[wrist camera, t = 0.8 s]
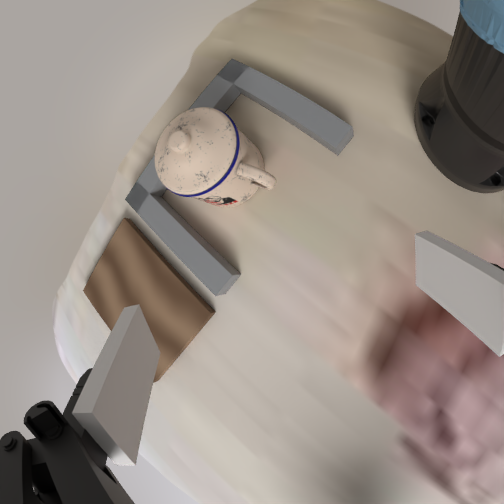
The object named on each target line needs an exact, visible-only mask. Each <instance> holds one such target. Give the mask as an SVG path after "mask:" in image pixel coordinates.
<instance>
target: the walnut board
mask: <svg viewBox="0 0 504 504" xmlns="http://www.w3.org/2000/svg"><path fill="white" fill-rule="evenodd" d="M83 291H84V293H85V294H86V296H87V297H88V299H89V300H90V302H91V303H92V305H93V306H94V308H95V309H96V310H97V312H98V313H99V315H100V316H101V318H102V319H103V320H104V322H105V323H106V324H107V326H108V327H109V329H110V330H111V331H112V330H113V328H114V326H115V324H116V322H117V320H118V318H119V316H120V315H121V313H122V311H123V309H124V308H125V307H129V306H133V305H138V304H139V305H140V308H141V310H142V313H143V315H144V317H145V320H146V322H147V324H148V326H149V329H150V331H151V333H152V335H153V338H154V340H155V342H156V344H157V346H158V348H159V351H160V357H159V361H158V365H157V369H156V373H155V377H154V381H153V383H154V382H156V381H158V380H159V379H160V378H161V377H162V376H163V374H164V373H165V372H166V371H167V370H168V368H169V367H170V366H171V365H172V364H173V362H174V361H175V360H176V359H177V358H178V357H179V355H180V354H181V353H182V352H183V351H184V349H185V348H186V347H187V346H188V345H189V343H190V342H191V341H192V340H193V339H194V337H195V336H196V335H197V334H198V333H199V331H200V330H201V329H202V328H203V327H204V325H205V324H206V323H207V322H208V321H209V319H210V318H211V317H212V316H213V315H214V313H215V311H214V310H213V309H212V308H211V307H210V306H209V305H208V304H207V303H206V302H205V301H204V299H203V298H202V297H201V296H200V295H199V294H198V293H197V292H196V291H195V290H194V289H193V288H192V287H191V286H190V285H189V284H188V283H187V282H186V281H185V280H184V278H183V277H182V276H181V275H180V274H179V273H178V272H177V271H176V270H175V269H174V268H173V267H172V266H171V265H170V263H169V262H168V261H167V260H166V259H165V258H164V257H163V256H162V255H161V254H160V252H159V251H158V250H157V249H156V248H155V247H154V246H153V245H152V244H151V242H150V241H149V240H148V239H147V238H146V237H145V236H144V235H143V233H142V232H141V231H140V230H139V229H138V228H137V227H136V225H135V224H134V223H133V222H132V221H131V220H130V219H128V218H124V219H123V220H122V222H121V224H120V225H119V227H118V229H117V230H116V232H115V234H114V235H113V237H112V239H111V240H110V242H109V244H108V246H107V247H106V249H105V251H104V253H103V254H102V256H101V258H100V260H99V262H98V263H97V265H96V267H95V269H94V271H93V273H92V275H91V276H90V278H89V280H88V282H87V284H86V286H85V288H84V290H83Z"/></svg>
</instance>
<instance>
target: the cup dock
mask: <svg viewBox="0 0 504 504" xmlns="http://www.w3.org/2000/svg"><path fill="white" fill-rule="evenodd" d="M241 93H242V94H243V95H245V96H247V97H249V98H250V99H252V100H254V101H255V102H257V103H259V104H260V105H262V106H264V107H265V108H267V109H269V110H270V111H272V112H274V113H275V114H277V115H278V116H280V117H282V118H283V119H285V120H286V121H288V122H289V123H291V124H292V125H294V126H295V127H297V128H298V129H300V130H302V131H303V132H304V133H306V134H307V135H309V136H310V137H312V138H313V139H315V140H316V141H318V142H319V143H321V144H322V145H323V146H325V147H326V148H328V149H329V150H330V151H332V152H333V153H335V154H336V155H337V156H338V155H339V153H340V152H341V151H342V150H343V149H344V147H345V146H346V145H347V144H348V142H349V141H350V140H351V139H352V137H353V136H354V135H353V127H352V126H350V125H349V124H347V123H346V122H344V121H343V120H341V119H340V118H338V117H337V116H335V115H334V114H332V113H331V112H329V111H327V110H326V109H324V108H323V107H321V106H319V105H318V104H316V103H315V102H313V101H311V100H310V99H308V98H306V97H304V96H303V95H301V94H299V93H298V92H296V91H294V90H292V89H291V88H289V87H287V86H285V85H283V84H282V83H280V82H278V81H276V80H274V79H272V78H270V77H268V76H267V75H265V74H263V73H261V72H259V71H257V70H255V69H253V68H251V67H249V66H247V65H245V64H243V63H240V62H238V61H236V60H234V59H231V60H230V61H229V62H228V63H227V64H226V66H225V67H224V68H223V69H222V70H221V71H220V72H219V73H218V75H217V76H216V77H215V78H214V79H213V80H212V82H211V83H210V84H209V85H208V86H207V87H206V89H205V90H204V91H203V92H202V93H201V95H200V96H199V97H198V98H197V100H196V101H195V102H194V103H193V105H192V106H191V107H190V108H189V110H190V109H194V108H199V107H209V108H214V109H218V110H220V111H222V112H224V113H225V111H226V110H227V109H228V108H229V107H230V105H231V104H232V103H233V102H234V101H235V99H236V98H237V97H238V96H239V95H240V94H241ZM166 189H167V188H166V187H165V186H164V185H163V183H162V182H161V181H160V179H159V177H158V175H157V172H156V168H155V155H154V157H153V158H152V159H151V161H150V162H149V164H148V165H147V167H146V168H145V170H144V171H143V173H142V174H141V176H140V177H139V179H138V180H137V182H136V183H135V185H134V186H133V188H132V189H131V191H130V193H129V194H128V196H127V197H126V199H125V200H126V201H127V202H128V203H129V204H130V206H131V207H132V208H133V209H134V210H135V211H136V212H137V213H138V214H139V216H140V217H141V218H142V219H143V220H144V221H145V222H146V223H147V224H148V226H149V227H150V228H151V229H152V230H153V231H154V232H155V233H156V234H157V235H158V236H159V237H160V239H161V240H162V241H163V242H164V243H165V244H166V245H167V246H168V247H169V248H170V249H171V250H172V251H173V252H174V254H175V255H176V256H177V257H178V258H179V259H180V260H181V261H182V262H183V263H184V264H185V265H186V266H187V267H188V268H189V269H190V270H191V271H192V272H193V273H194V275H195V276H196V277H197V278H198V279H199V280H200V281H201V282H202V283H203V284H204V285H205V286H206V287H207V288H208V289H209V290H210V291H211V292H212V293H213V294H214V295H215V296H218V295H222V294H226V292H227V291H228V290H229V289H230V287H231V286H232V285H233V284H234V283H235V281H236V280H237V279H238V278H239V276H240V275H241V274H240V273H239V272H238V271H237V270H236V269H235V268H234V267H233V266H232V265H231V264H230V263H228V262H227V261H226V260H225V259H224V258H223V257H222V256H221V255H220V254H219V253H218V252H217V251H216V250H215V249H214V248H213V247H212V246H211V245H210V244H209V243H208V242H207V241H206V240H205V239H204V238H202V237H201V236H200V235H199V234H198V233H197V232H196V231H195V230H194V229H193V228H192V227H191V226H190V225H189V224H188V223H187V222H186V221H185V220H184V219H183V218H182V217H181V216H180V215H179V214H178V213H177V212H176V211H175V210H174V209H173V208H172V207H171V206H170V205H169V204H168V203H167V202H166V201H165V200H164V199H163V198H162V197H161V196H162V195H163V193H164V192H165V191H166Z"/></svg>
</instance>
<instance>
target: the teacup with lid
mask: <svg viewBox="0 0 504 504" xmlns="http://www.w3.org/2000/svg"><path fill="white" fill-rule="evenodd" d="M155 168H156V172H157V175H158V177H159V179H160V181H161V182H162V183H163V185H164V186H165V187H166V188H167V189H168V190H170V191H171V192H173V193H174V194H177V195H179V196H184V197H193V198H196V199H199V200H202V201H205V202H207V203H210V204H213V205H216V206H219V207H233V206H237V205H240V204H242V203H244V202H245V201H247V200H248V199H249V198H251V197H252V196H253V195H254V194H255V192H256V191H257V190H258V188H259V187H261V188H264V189H269V190H270V189H273V188H274V186H275V184H276V179H275V177H274V176H273V175H271V174H270V173H268V172H266V171H264V161H263V157H262V155H261V153H260V151H259V149H258V148H257V147H256V146H255V145H254V144H253V143H252V142H251V141H250V140H249V139H248V138H247V137H246V136H245V135H244V134H243V133H242V132H241V131H240V130H239V129H238V128H237V127H236V125H235V123H234V122H233V120H232V119H231V118H230V117H229V116H228V115H227V114H225V113H224V112H222V111H220V110H218V109H214V108H209V107H199V108H194V109H190V110H187V111H185V112H183V113H181V114H180V115H178V116H177V117H176V118H174V119H173V120H172V121H171V122H170V123H169V124H168V125H167V127H166V128H165V129H164V131H163V132H162V134H161V136H160V138H159V140H158V143H157V146H156V150H155Z"/></svg>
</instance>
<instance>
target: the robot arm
mask: <svg viewBox="0 0 504 504" xmlns="http://www.w3.org/2000/svg"><path fill="white" fill-rule="evenodd" d="M414 117H415V126H416V131H417V134H418V137H419V140H420V142H421V145H422V147H423V149H424V151H425V152H426V154H427V156H428V157H429V158H430V160H431V161H432V163H433V164H434V165H435V166H436V167H437V168H438V169H439V170H440V172H442V173H443V174H444V175H445V176H446V177H447V178H449V179H450V180H451V181H453V182H454V183H456V184H457V185H459V186H461V187H463V188H465V189H468V190H471V191H474V192H479V193H494V192H498V191H501V190H504V0H460V13H459V17H458V21H457V25H456V29H455V32H454V36H453V40H452V43H451V47H450V50H449V53H448V57H447V60H446V62H445V63H444V64H443V65H442V66H440V67H439V68H438V69H437V70H435V71H434V72H433V73H432V74H430V75H429V76H428V77H427V79H426V80H425V81H424V83H423V84H422V86H421V88H420V91H419V94H418V97H417V101H416V105H415V113H414ZM415 251H416V286H418V287H419V288H420V289H421V290H423V291H424V292H425V293H426V294H428V295H429V296H430V297H431V298H432V299H434V300H435V301H436V302H437V303H439V304H440V305H441V306H442V307H443V308H445V309H446V310H447V311H448V312H449V313H450V314H452V315H453V316H454V317H455V318H456V319H458V320H459V321H460V322H461V323H462V324H463V325H464V326H466V327H467V328H468V329H469V330H470V331H471V332H472V333H474V334H475V335H476V336H477V337H478V338H479V339H480V340H481V341H483V342H484V343H485V344H486V345H487V346H488V347H489V348H490V349H491V350H492V351H494V352H495V353H496V354H497V355H498V356H499V357H500V356H502V355H503V354H504V269H503V268H501V267H500V266H498V265H496V264H492V263H489V262H487V261H485V260H483V259H482V258H480V257H478V256H476V255H474V254H472V253H470V252H468V251H467V250H465V249H463V248H461V247H459V246H457V245H455V244H453V243H451V242H449V241H447V240H445V239H443V238H441V237H439V236H437V235H435V234H433V233H431V232H429V231H424V232H420V233H417V234H415ZM159 357H160V351H159V348H158V346H157V344H156V342H155V340H154V338H153V335H152V333H151V331H150V329H149V326H148V324H147V322H146V320H145V317H144V315H143V313H142V310H141V308H140V305H139V304H138V305H133V306H129V307H125V308H124V309H123V311H122V313H121V315H120V316H119V318H118V320H117V322H116V324H115V326H114V328H113V330H112V331H111V333H110V335H109V337H108V339H107V341H106V343H105V345H104V347H103V349H102V351H101V353H100V355H99V357H98V359H97V361H96V363H95V365H94V367H93V368H91V369H88V370H87V371H86V372H85V373H84V374H83V375H82V376H81V377H80V379H79V381H78V383H77V385H76V388H75V389H74V392H73V396H71V398H70V400H69V402H68V404H67V406H66V408H65V410H64V412H63V415H62V414H61V413H60V411H59V410H58V408H57V407H56V406H55V405H54V403H53V402H51V401H41V402H39V403H37V404H35V405H34V406H32V407H31V408H30V409H29V410H28V412H27V413H26V415H25V417H24V424H25V425H26V427H27V428H28V429H29V430H30V431H31V432H32V434H33V435H34V436H35V437H36V438H34V439H30V440H26V439H25V438H24V437H23V436H22V434H20V432H18V431H11V432H9V433H6V434H5V435H4V436H3V437H2V438H1V440H0V504H134V502H133V501H132V500H131V498H130V497H129V496H128V494H127V493H126V491H125V490H124V489H123V487H122V486H121V484H120V483H119V482H118V480H117V479H116V477H115V476H114V474H113V473H112V472H111V470H110V469H109V468H108V467H107V466H106V465H105V464H106V460H107V457H109V458H110V459H111V460H112V461H113V462H114V463H115V464H116V465H136V460H137V455H138V450H139V445H140V440H141V435H142V430H143V425H144V421H145V416H146V412H147V407H148V403H149V398H150V394H151V390H152V385H153V381H154V377H155V373H156V369H157V365H158V361H159ZM33 487H34V490H33Z"/></svg>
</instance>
